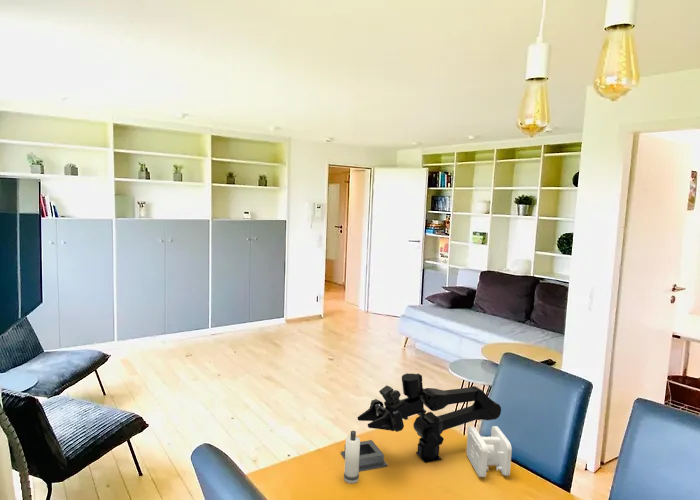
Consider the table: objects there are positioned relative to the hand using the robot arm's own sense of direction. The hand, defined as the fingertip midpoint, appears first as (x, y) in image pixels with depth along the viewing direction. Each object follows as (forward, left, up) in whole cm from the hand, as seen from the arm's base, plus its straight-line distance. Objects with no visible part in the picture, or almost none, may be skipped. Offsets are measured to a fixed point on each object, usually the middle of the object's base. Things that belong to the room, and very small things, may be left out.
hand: (362, 422), depth 147 cm
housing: (-3, -5, -16) cm, 17 cm away
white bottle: (+5, +4, -16) cm, 17 cm away
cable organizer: (-40, +12, -16) cm, 45 cm away
